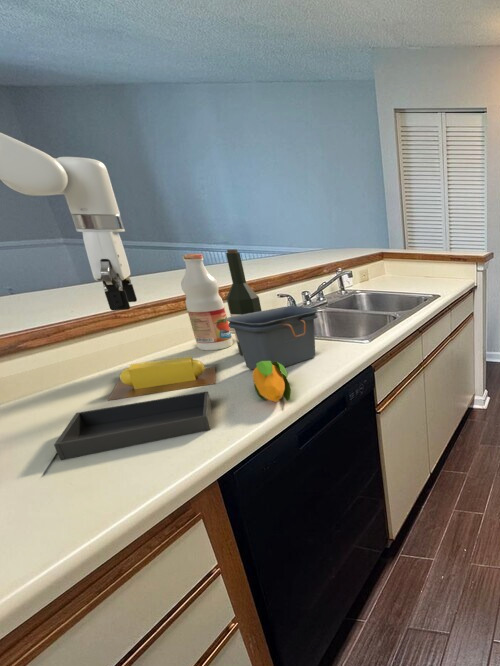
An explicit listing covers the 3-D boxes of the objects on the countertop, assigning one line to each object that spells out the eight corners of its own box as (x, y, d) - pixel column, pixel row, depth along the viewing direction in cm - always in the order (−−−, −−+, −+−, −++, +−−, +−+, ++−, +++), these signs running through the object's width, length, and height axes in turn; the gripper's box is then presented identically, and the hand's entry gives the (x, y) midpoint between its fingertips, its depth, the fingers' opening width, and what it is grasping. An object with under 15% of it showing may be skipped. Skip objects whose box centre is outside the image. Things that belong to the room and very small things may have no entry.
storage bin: (297, 349, 132) (288, 304, 127) (335, 356, 127) (328, 309, 121) (232, 370, 114) (219, 318, 108) (273, 380, 108) (262, 325, 103)
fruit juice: (198, 344, 135) (173, 253, 124) (233, 340, 139) (212, 252, 129) (197, 352, 127) (170, 256, 117) (233, 348, 132) (210, 255, 121)
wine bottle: (242, 348, 131) (219, 248, 120) (272, 347, 134) (252, 248, 122) (235, 357, 124) (209, 251, 113) (267, 355, 126) (245, 250, 115)
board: (108, 401, 94) (107, 400, 94) (119, 381, 105) (119, 380, 105) (214, 384, 105) (214, 383, 104) (215, 368, 115) (215, 366, 115)
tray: (61, 463, 72) (53, 444, 70) (83, 429, 83) (76, 412, 81) (211, 432, 83) (206, 416, 81) (212, 405, 94) (208, 391, 92)
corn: (279, 351, 105) (291, 375, 90) (287, 379, 109) (300, 407, 93) (245, 358, 102) (252, 384, 86) (254, 386, 105) (263, 417, 90)
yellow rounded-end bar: (122, 391, 99) (115, 371, 97) (125, 385, 102) (118, 365, 100) (206, 378, 107) (201, 360, 105) (207, 373, 111) (202, 355, 109)
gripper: (85, 222, 93) (110, 300, 99) (62, 225, 79) (93, 314, 86) (129, 223, 97) (150, 298, 103) (115, 225, 83) (140, 311, 90)
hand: (124, 305), depth 94 cm, fingers open, 9 cm apart
